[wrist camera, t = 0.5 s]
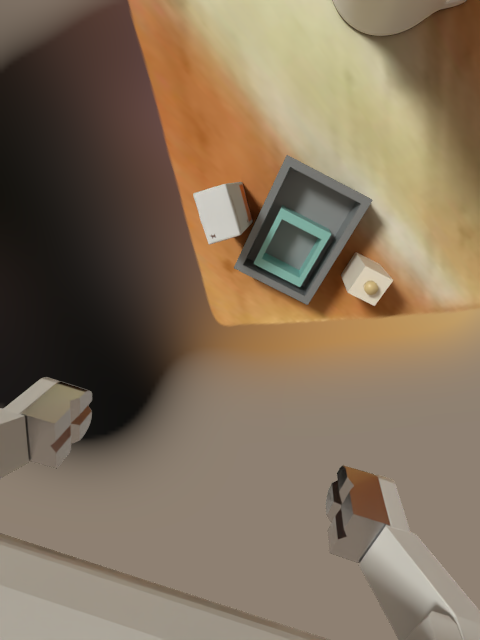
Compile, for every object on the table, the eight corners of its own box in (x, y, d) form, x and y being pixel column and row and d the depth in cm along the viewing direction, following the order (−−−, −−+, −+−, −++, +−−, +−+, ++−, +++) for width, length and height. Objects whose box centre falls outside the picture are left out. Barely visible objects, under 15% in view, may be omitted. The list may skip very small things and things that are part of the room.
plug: (355, 251, 48) (366, 268, 40) (379, 263, 49) (395, 282, 41) (340, 274, 50) (348, 295, 42) (363, 286, 50) (376, 308, 42)
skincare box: (254, 222, 49) (241, 237, 38) (227, 229, 50) (207, 246, 39) (242, 179, 47) (226, 182, 36) (215, 188, 48) (191, 194, 37)
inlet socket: (282, 204, 47) (281, 207, 43) (329, 229, 47) (331, 233, 43) (256, 257, 50) (253, 263, 47) (299, 278, 51) (300, 287, 47)
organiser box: (288, 156, 45) (286, 154, 40) (365, 196, 45) (372, 199, 41) (239, 259, 52) (233, 267, 47) (306, 293, 52) (307, 305, 48)
